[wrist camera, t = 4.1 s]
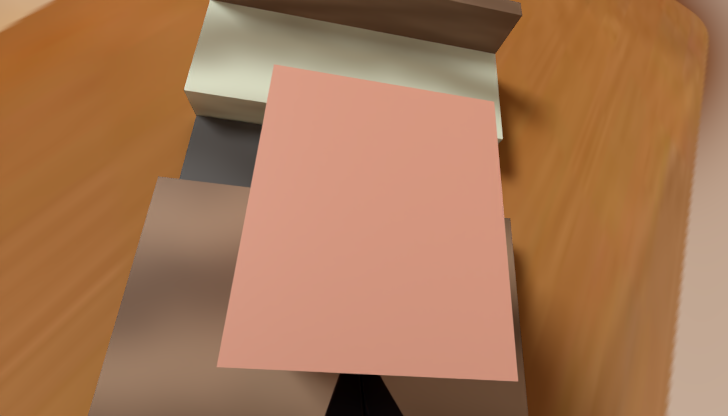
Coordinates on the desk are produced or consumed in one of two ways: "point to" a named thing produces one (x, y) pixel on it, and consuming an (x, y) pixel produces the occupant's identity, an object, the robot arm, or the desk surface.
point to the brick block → (373, 235)
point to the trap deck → (231, 192)
